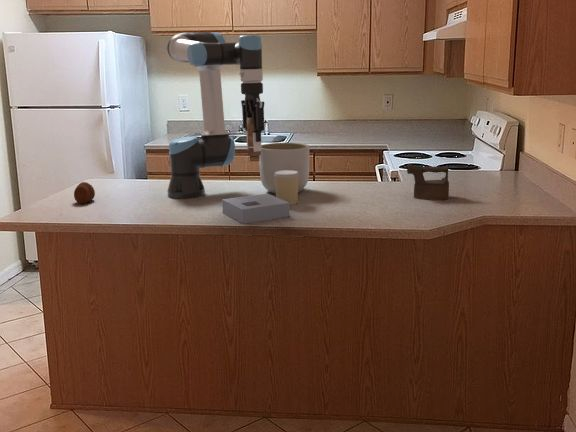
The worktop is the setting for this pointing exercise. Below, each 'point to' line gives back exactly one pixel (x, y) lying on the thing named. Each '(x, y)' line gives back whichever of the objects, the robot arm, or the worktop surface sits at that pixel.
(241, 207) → the board
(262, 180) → the planter
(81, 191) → the potato
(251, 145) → the peg
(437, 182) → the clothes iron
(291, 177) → the coffee cup
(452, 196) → the worktop surface
